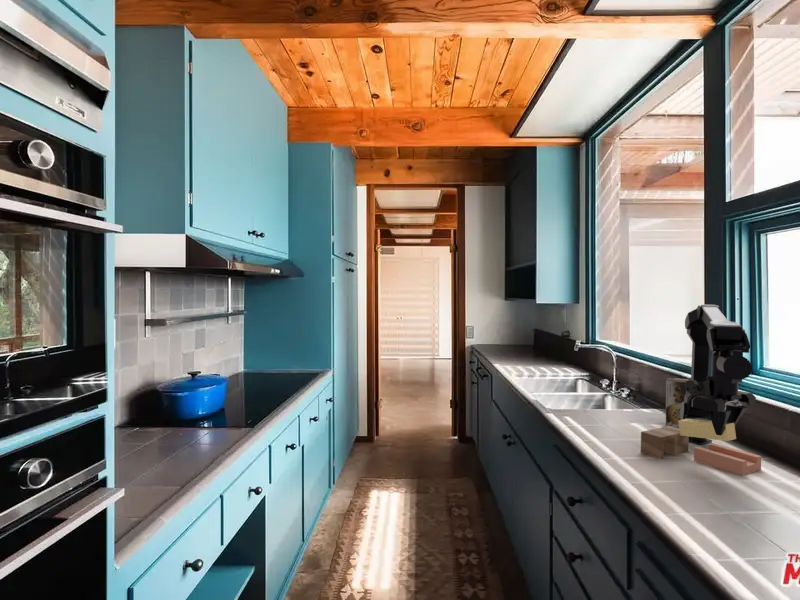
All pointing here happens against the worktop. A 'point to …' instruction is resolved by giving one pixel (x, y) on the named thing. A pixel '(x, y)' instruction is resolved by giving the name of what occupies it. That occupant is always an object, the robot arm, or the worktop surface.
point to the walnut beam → (663, 442)
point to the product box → (674, 400)
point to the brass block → (705, 429)
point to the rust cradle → (728, 459)
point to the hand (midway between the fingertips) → (723, 433)
